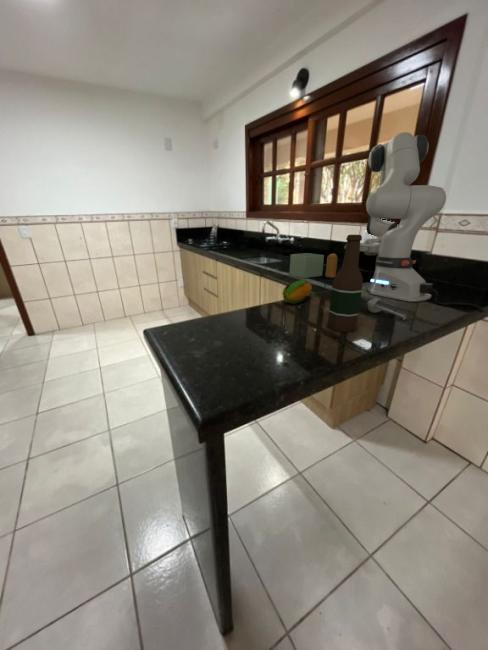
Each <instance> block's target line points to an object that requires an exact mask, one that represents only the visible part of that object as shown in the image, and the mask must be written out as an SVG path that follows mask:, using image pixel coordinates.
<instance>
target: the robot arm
mask: <svg viewBox="0 0 488 650" xmlns="http://www.w3.org/2000/svg"><path fill="white" fill-rule="evenodd" d="M429 147H430V145H429V140H428V137H427V136H426V135H425V134H418V135H415V136H414V135H413V134H412V133H410V132H407V131H403V132H399V133H397V134H395V135H394V136H393V137H392V138H391V139H390V140H389V141H386V142H383V143H379V144H376V145H375V146H373V147H372V148H371V150H370V152H369V156H368V161H367V162H368V163H367V164H368V167H369V168H370V171H371V172H372V173H380V175H379V184H378V187H376V188H374V189H373V190H372V191H371V192H370V194H369V195H368V196H367V199H366V202H365V208H366V212H367V214H368V216H369V218H368V221H367V223H366V228H365V229H366V233H367V234H368V235H369V234H371V235H370V236H372V235H374V236H373V237H376V238H368V239H366V240H365V241H364V242H363V243H362V242H360V251H359V252H361V253H363V254H364V255H365V256H376V258H375V264H374V265H375V266H374V273H373V276H372V278H371V279H370V284H369V286H368V288H367V291H368V292H369V294H370V295H374V296H379V297H384V298H389V299H394V300H398V301H399V300H400V301H404V302H405V301H406V302H409V303H411V302H413V303H414V302H415V303H416V302H425V301H429V300H431V299H432V294H430V293H432V292H433V293H434V294H435V297H434V299H433V300H434V304H436V305H440V306H441V305H442V306H452V305H457V306H466V307H467V306H469V307H474V308H476V309H478V310H479V311H480V313H484V314H485V313H486V311H485V310H484V308H482V307H481V306H479V305H478V304H475V303H470V302H459V301H457V302H455V301H454V302H453V301H452V302H443V301H442V302H441V301H438V297H439V292H438V291H437V290H436V289H434V288H433V287H434V283H432V282H431V283H430V282H426V279H424V278H423V277H422V276H421V275H420V274H419V273H418V272H417V271H416V270H415V269H414V268H413V265H414V264H415V263H416V262H417V260H416V259H415V260H413V259H412V257H411V254H412V249H413V245H414V243H415V241H416V240H415V239H416V237H417V235H418V233H419V231H420V230H421V229H422V227H423V226H424V225H425V224H426V223H427V222H428V221H429V220H431V219H432V218H434V217H435V216H437V215H438V214H439V213H440V212H441V211H442V209H443V208H444V206H445V204H446V201H447V194H446V191H445V189H444V188H443V187H441V186H436V185H429V184H421V185H412V183H413V182H415V181H416V179H417V178H418V177H419V174H420V171H421V166H420V164H421V163H422V162H423V161H424V160H425V159H426V157H427V154H428V151H429ZM380 218H381V219H380ZM382 219H386V220H382ZM391 219H392V220H394V219H395V220H397V219H399V220H400V222H399V225H398V226H397V224H396V223H397V222H396V221H393V222H391V221H392V220H391ZM387 220H390V221H387ZM395 222H396V223H395ZM346 245H347V243H346V244H345V245H344V250H346Z"/></svg>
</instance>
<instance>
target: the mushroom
mask: <svg viewBox="0 0 488 650" xmlns="http://www.w3.org/2000/svg"><path fill="white" fill-rule="evenodd" d="M366 305H367V310H368V311H369V312H370V313H374V314H377V313H380V312H381V311H385V312H387V313H390V314H392V315H395V316H398V317H400V318H401V319H402V320H403V321H404V320H406V318H407V316H408V314H405V313H404V314H402V313H400V312H397V311H394V310H393V309H390V308H387V307H386V304H385V302H384V301H383V300H382V299H381V298H378V297H374V298H372V299H370V300H368V301H367V303H366Z"/></svg>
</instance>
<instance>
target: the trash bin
mask: <svg viewBox="0 0 488 650" xmlns="http://www.w3.org/2000/svg"><path fill="white" fill-rule="evenodd" d="M324 259H325V255H324V254H318V253H317V254H316V253H310V252H304V253H293V254H291V253H290V258H289V275H291V276H295V277H299V278H301V279H307V278H308V279H309V278H316V277H322V276H323V271H324Z"/></svg>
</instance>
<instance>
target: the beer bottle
mask: <svg viewBox="0 0 488 650" xmlns="http://www.w3.org/2000/svg"><path fill="white" fill-rule="evenodd" d="M345 240H346V244H347V245H346V244H345V246H346V249H344V255H343V261H342V265H341V267H340V269H339V270H338V271H337V272H336V276H335V277H334V279H333V281H332V285H331V294H330V300H329V301H330V303H329V311H328V319H327V327H328V328H329V329H331V330H333V331H335V332H342V333H350V332H354V331H356V328H357V324H358V319H359V318H358V317H359V311H360V305H361V299H362V293H363V286H364V285H363V284H364V279H363V274H362V272H361V270H360V267H359V266H360V265H359V262H360V261H359V259H360V252H361V251H360V243H361V241H362V240H363V237H362V235H361V234H348V235H347V236H346V238H345Z"/></svg>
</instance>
